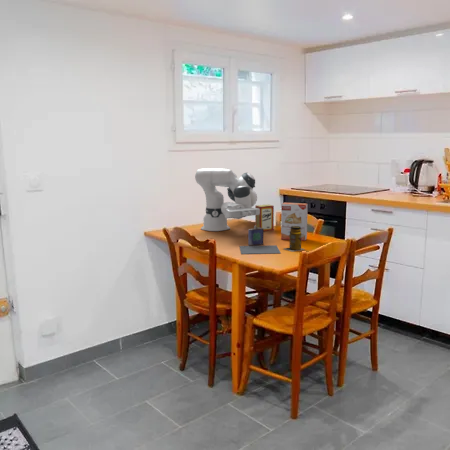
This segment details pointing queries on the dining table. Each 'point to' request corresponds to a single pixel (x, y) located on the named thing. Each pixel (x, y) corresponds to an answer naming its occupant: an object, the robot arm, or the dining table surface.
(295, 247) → the condiment
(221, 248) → the dining table surface
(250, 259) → the dining table surface
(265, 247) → the slate mat
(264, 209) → the baking soda box
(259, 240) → the flask
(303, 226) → the cracker box
